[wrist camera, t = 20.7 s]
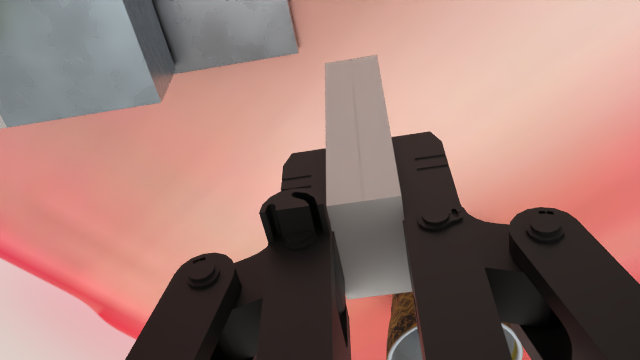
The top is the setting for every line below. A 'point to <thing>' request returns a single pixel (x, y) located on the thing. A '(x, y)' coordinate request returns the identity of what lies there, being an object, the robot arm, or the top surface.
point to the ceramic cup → (405, 337)
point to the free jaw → (79, 58)
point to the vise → (225, 31)
